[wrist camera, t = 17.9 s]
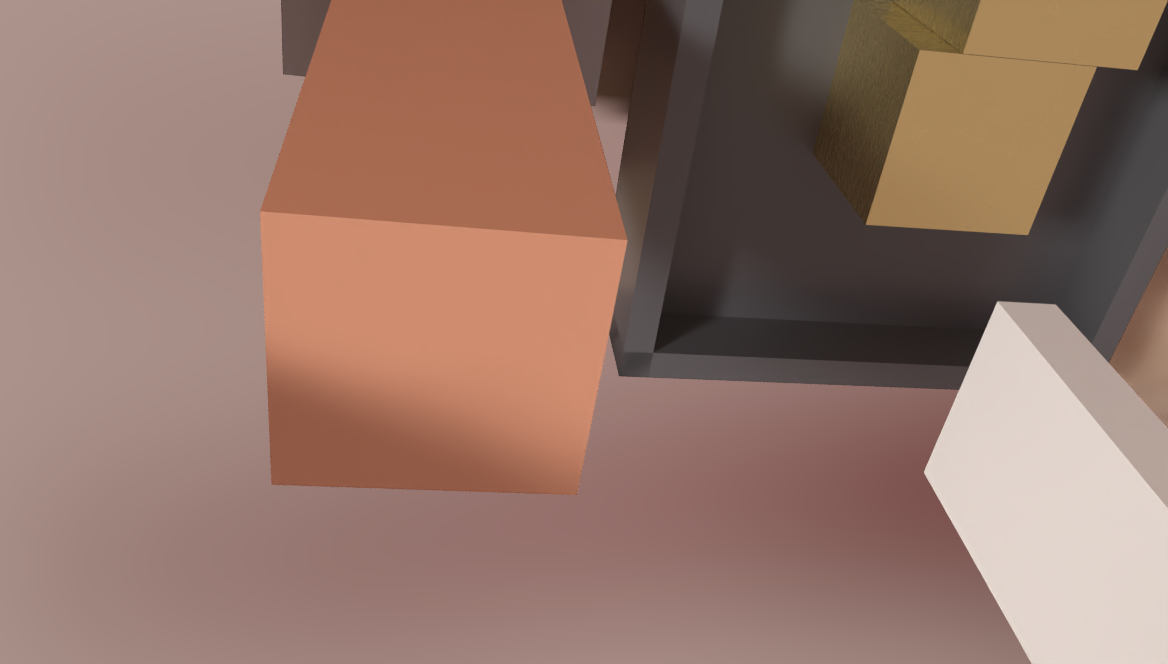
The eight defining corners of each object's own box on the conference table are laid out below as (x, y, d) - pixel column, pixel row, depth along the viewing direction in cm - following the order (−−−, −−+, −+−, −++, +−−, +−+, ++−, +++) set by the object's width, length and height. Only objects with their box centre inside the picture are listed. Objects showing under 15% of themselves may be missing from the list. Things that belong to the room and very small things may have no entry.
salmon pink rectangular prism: (301, -118, 23) (109, 199, 10) (599, -78, 24) (754, 249, 11) (303, 51, 25) (148, 480, 13) (575, 80, 26) (683, 498, 14)
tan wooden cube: (854, -3, 24) (919, 49, 20) (1008, 12, 24) (1096, 67, 21) (812, 153, 26) (865, 224, 22) (955, 164, 26) (1028, 235, 23)
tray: (699, -339, 21) (747, -342, 18) (1268, -249, 24) (1409, -235, 20) (600, 294, 30) (619, 376, 26) (1023, 317, 32) (1092, 395, 29)
